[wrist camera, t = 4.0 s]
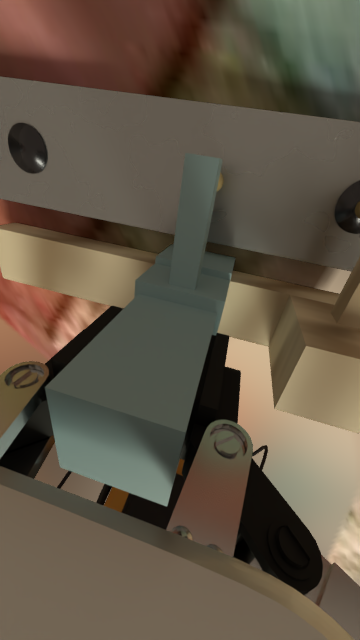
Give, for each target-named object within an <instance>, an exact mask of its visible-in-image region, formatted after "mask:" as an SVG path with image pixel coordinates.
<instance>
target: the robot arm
mask: <svg viewBox="0 0 360 640" xmlns="http://www.w3.org/2000/svg"><path fill="white" fill-rule="evenodd" d="M123 309H124V308H120V307H116V306H111V307H110V308H109V309H107V310H106V311H105V312H104V313H103V314H102V315H101V316H100V317H98V318H97V319H96V320H95V321H94V322H93V323H92V324H91V325H89V326H88V327H87V328H86V329H84V330H83V331H82V332H80V333H79V334H78V335H77V336H76V337H75V338H74V339H73V340H71V341H70V342H69V343H68V344H67V345H66V346H65V347H64V348H62V349H61V350H60V351H59V352H58V353H57V354H56V355H54V356H53V357H52V358H51V359H50V360H49V361H48V362H47V363H45V364H43V363H40V362H34V361H29V362H22V363H19V364H16V365H14V366H12V367H10V368H8V369H7V370H6V371H5V372H3V373H2V374H1V375H0V640H360V586H359V585H358V584H357V583H356V582H354V581H353V580H352V579H351V578H350V577H349V576H348V575H347V574H346V573H345V572H344V571H343V570H342V569H341V568H340V567H339V566H338V565H337V564H336V563H333V564H332V565H331V564H330V563H329V562H328V561H327V560H326V559H325V558H324V557H323V556H322V555H321V553H320V550H319V548H318V545H317V543H316V541H315V539H314V538H313V536H312V535H311V533H310V531H309V530H308V529H307V527H306V526H305V525H304V524H303V522H302V521H301V520H300V518H299V517H298V516H297V515H296V514H295V512H294V511H293V510H292V508H291V507H290V506H289V505H288V503H287V502H286V501H285V500H284V498H283V497H282V496H281V494H280V493H279V492H278V491H277V489H276V488H275V487H274V486H273V485H272V483H271V482H270V480H269V479H268V478H267V477H266V475H265V474H264V473H263V472H262V470H261V469H260V468H259V466H258V465H257V464H256V463H255V461H254V460H253V459H252V453H253V444H252V441H251V438H250V436H249V435H248V433H247V432H246V431H245V430H244V429H243V428H242V427H241V426H240V425H238V424H237V422H238V406H239V391H240V377H241V376H240V375H241V372H240V371H239V370H235V369H232V368H228V367H225V361H226V355H227V348H228V342H229V335H225V334H221V333H216V336H215V335H212V336H211V340H210V343H209V347H208V351H207V355H206V358H205V362H204V366H203V370H202V373H201V377H200V381H199V385H198V388H197V392H196V396H195V400H194V403H193V407H192V411H191V415H190V419H189V423H188V427H187V431H186V435H185V439H184V443H183V447H182V451H181V455H180V459H182V460H184V463H183V468H182V475H183V477H184V479H185V480H186V481H185V483H184V486H183V488H182V491H181V493H180V496H179V498H178V501H177V503H176V506H175V508H174V511H173V514H172V516H171V519H170V521H169V524H168V526H167V529H166V530H165V529H162V528H160V527H157V526H155V525H152V524H149V523H147V522H144V521H142V520H139V519H137V518H134V517H131V516H129V515H126V514H124V513H121V512H119V511H116V510H113V509H111V508H108V507H106V506H103V505H101V504H98V503H95V502H93V501H90V500H88V499H85V498H82V497H80V496H77V495H75V494H72V493H69V492H67V491H64V490H61V489H59V488H56V487H54V486H51V485H48V484H45V483H43V482H41V481H38V480H35V479H34V478H35V476H36V474H37V473H38V471H39V469H40V467H41V466H42V463H43V462H44V460H45V458H46V457H47V455H48V453H49V451H50V450H51V448H52V446H53V444H54V443H55V438H54V433H53V428H52V423H51V417H50V412H49V407H48V402H47V396H46V391H45V387H46V386H47V385H48V384H49V383H50V382H51V381H52V380H53V379H54V378H55V377H56V376H57V375H58V374H59V373H60V372H61V371H62V370H63V369H64V368H65V367H66V366H67V365H68V364H69V363H70V362H71V361H72V360H73V359H74V358H75V357H76V356H77V355H78V354H79V353H80V352H81V351H82V350H83V349H84V348H85V347H86V346H87V345H88V344H89V343H90V342H91V341H92V340H93V339H94V338H95V337H96V336H97V335H98V334H99V333H100V332H101V331H102V330H103V329H104V328H105V327H106V326H107V325H108V324H109V323H110V322H111V321H112V320H113V319H114V318H115V317H116V316H117V315H118V314H119V313H120V312H121V311H122V310H123Z"/></svg>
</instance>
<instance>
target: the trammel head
mask: <svg viewBox="0 0 360 640" xmlns="http://www.w3.org/2000/svg"><path fill="white" fill-rule="evenodd" d="M222 161H223V160H222V159H220V158H215V157H209V156H202V155H196V154H190V153H185V160H184V168H183V176H182V184H181V191H180V199H179V207H178V215H177V223H176V230H175V238H174V245H173V244H171V245H170V246H169V247H167V248H166V249H165V250H164V251H162V252H161V253H160V254H159V255H157V256H156V260H155V264H154V265H153V266H151V267H150V268H149V269H148V270H147V271H145V272H144V273H143V274H142V275H141V276H140V277H138V278H137V279H136V280H135V293H134V299H133V300H132V301H131V302H130V303H129V304H128V305H127V306H126V307H125V308H124V309H123V310H122V311H121V312H120V313H119V314H118V315H117V316H116V317H115V318H114V319H113V320H112V321H111V322H110V323H109V324H108V325H107V326H106V327H105V328H104V329H103V330H102V331H101V332H100V333H99V334H98V335H97V336H96V337H95V338H94V339H93V340H92V341H91V342H90V343H89V344H88V345H87V346H86V347H85V348H84V349H83V350H82V351H81V352H80V353H79V354H78V355H77V356H76V357H75V358H74V359H73V360H72V361H71V362H70V363H69V364H68V365H67V366H66V367H65V368H64V369H63V370H62V371H61V372H60V373H59V374H58V375H57V376H56V377H55V378H54V379H53V380H52V381H51V382H50V383H49V384H48V385H47V386H46V387H45V391H46V396H47V402H48V407H49V412H50V417H51V423H52V428H53V433H54V438H55V444H56V449H57V454H58V459H59V464H60V467H61V468H64V469H67V470H69V471H72V472H75V473H77V474H80V475H83V476H86V477H88V478H91V479H94V480H96V481H99V482H102V483H104V484H107V485H110V486H112V487H115V488H118V489H121V490H123V491H126V492H129V493H131V494H134V495H137V496H140V497H142V498H145V499H148V500H150V501H153V502H156V503H159V504H161V505H164V506H168V502H169V498H170V494H171V490H172V487H173V483H174V479H175V475H176V471H177V467H178V464H179V460H180V455H181V451H182V447H183V443H184V439H185V435H186V431H187V427H188V423H189V419H190V415H191V411H192V407H193V403H194V400H195V396H196V392H197V388H198V385H199V381H200V377H201V373H202V370H203V366H204V362H205V358H206V355H207V351H208V347H209V343H210V340H211V336H212V335H215V336H216V333H217V331H218V328H219V324H220V320H221V316H222V313H223V309H224V305H225V301H226V297H227V292H228V288H229V284H230V279H231V275H232V271H233V267H234V262H235V258H234V257H230V256H225V255H220V254H216V253H211V252H206V251H205V249H206V243H207V238H208V233H209V228H210V223H211V218H212V213H213V207H214V202H215V197H216V192H217V191H219V190H220V189H221V187H222V185H223V175H222V174H221V172H220V171H221V166H222Z"/></svg>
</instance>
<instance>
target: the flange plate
mask: <svg viewBox="0 0 360 640" xmlns="http://www.w3.org/2000/svg"><path fill="white" fill-rule="evenodd" d="M185 153H190V154H196V155H202V156H209V157H215V158H220V159H222V160H223V161H222V166H221V171H220V172H221V174H222V175H223V185H222V187H221V189H220V190H219V191H217V192H216V197H215V202H214V207H213V213H212V218H211V223H210V228H209V233H208V238H207V242H212V243H217V244H221V245H226V246H231V247H236V248H241V249H246V250H250V251H255V252H260V253H265V254H270V255H275V256H279V257H284V258H289V259H294V260H299V261H304V262H308V263H313V264H318V265H323V266H328V267H333V268H337V269H342V270H347V271H352V270H353V269H354V267H355V265H356V263H357V261H358V259H359V257H360V219H359V218H358V217H357V216H356V214H355V207H356V205H357V203H358V202H359V201H360V122H355V121H348V120H340V119H332V118H324V117H316V116H308V115H300V114H292V113H284V112H276V111H269V110H261V109H253V108H245V107H237V106H229V105H221V104H213V103H205V102H197V101H190V100H182V99H174V98H166V97H158V96H150V95H142V94H134V93H126V92H118V91H111V90H103V89H95V88H87V87H79V86H71V85H63V84H55V83H47V82H39V81H32V80H24V79H16V78H8V77H0V199H4V200H9V201H14V202H19V203H23V204H28V205H33V206H38V207H43V208H48V209H52V210H57V211H62V212H67V213H72V214H77V215H81V216H86V217H91V218H96V219H101V220H105V221H110V222H115V223H120V224H125V225H130V226H134V227H139V228H144V229H149V230H154V231H159V232H163V233H168V234H173V235H175V230H176V223H177V215H178V207H179V199H180V191H181V184H182V176H183V168H184V160H185Z"/></svg>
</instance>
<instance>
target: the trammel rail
mask: <svg viewBox="0 0 360 640" xmlns="http://www.w3.org/2000/svg"><path fill="white" fill-rule="evenodd" d="M355 214H356V216H357V217H358V218H359V219H360V201H359V202H358V203H357V205H356V207H355ZM157 255H159V254H156V253H152V252H147V251H143V250H138V249H133V248H129V247H124V246H120V245H115V244H111V243H106V242H102V241H97V240H93V239H88V238H84V237H79V236H74V235H70V234H65V233H61V232H56V231H52V230H47V229H43V228H38V227H34V226H29V225H25V224H20V223H10V224H4V225H0V267H1V271H2V276H3V278H5V279H9V280H13V281H16V282H20V283H24V284H28V285H32V286H36V287H40V288H43V289H47V290H51V291H55V292H59V293H63V294H67V295H71V296H74V297H78V298H82V299H86V300H90V301H94V302H98V303H101V304H105V305H109V306H116V307H120V308H125V307H126V306H127V305H128V304H129V303H130V302H131V301H132V300H133V299H134V293H135V280H136V279H137V278H138V277H140V276H141V275H142V274H143V273H144V272H145V271H147V270H148V269H149V268H150V267H151V266H153V265H154V264H155V260H156V256H157ZM217 333H221V334H225V335H229V337H233V338H237V339H241V340H245V341H248V342H252V343H256V344H260V345H264V346H268V347H269V355H270V366H271V376H272V387H273V398H274V409H277V410H280V411H283V412H287V413H290V414H294V415H297V416H301V417H304V418H307V419H311V420H314V421H318V422H321V423H324V424H328V425H331V426H335V427H338V428H342V429H345V430H349V431H352V432H355V433H360V257H359V259H358V261H357V263H356V265H355V267H354V269H353V270H352V272H351V274H350V276H349V278H348V280H347V282H346V284H345V286H344V288H343V290H342V292H341V293H340V294H338V293H333V292H329V291H324V290H320V289H315V288H310V287H306V286H301V285H297V284H292V283H288V282H283V281H279V280H274V279H270V278H265V277H261V276H256V275H251V274H247V273H242V272H238V271H232V275H231V279H230V284H229V288H228V292H227V297H226V301H225V305H224V309H223V313H222V316H221V320H220V324H219V328H218V331H217Z"/></svg>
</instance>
